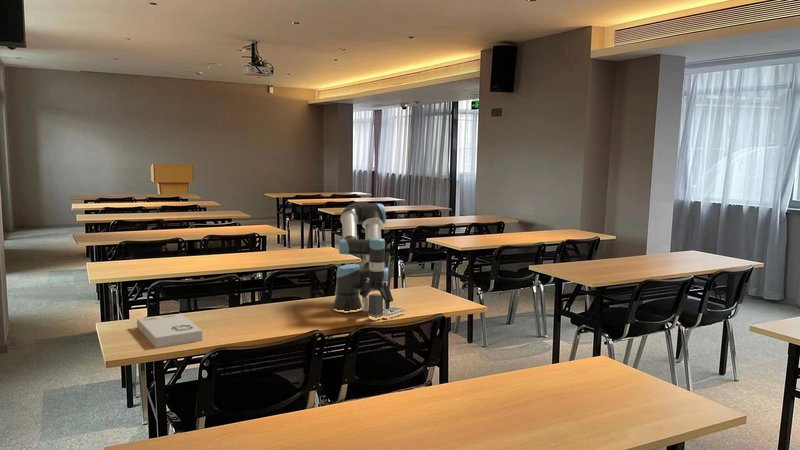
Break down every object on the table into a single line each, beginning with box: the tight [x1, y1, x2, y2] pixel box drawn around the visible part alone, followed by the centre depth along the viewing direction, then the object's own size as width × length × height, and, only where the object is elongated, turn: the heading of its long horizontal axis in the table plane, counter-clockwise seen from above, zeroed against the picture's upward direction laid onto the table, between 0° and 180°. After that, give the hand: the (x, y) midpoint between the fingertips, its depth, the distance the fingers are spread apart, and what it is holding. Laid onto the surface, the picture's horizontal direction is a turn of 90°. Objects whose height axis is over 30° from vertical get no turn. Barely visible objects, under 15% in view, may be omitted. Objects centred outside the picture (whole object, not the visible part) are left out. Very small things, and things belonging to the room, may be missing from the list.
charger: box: [367, 293, 384, 318], centre depth 284 cm, size 5×5×12 cm
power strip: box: [383, 305, 406, 316], centre depth 293 cm, size 9×14×3 cm, turn 140°
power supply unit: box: [136, 312, 204, 349], centre depth 253 cm, size 19×33×5 cm, turn 36°
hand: (375, 312), depth 285 cm, fingers open, 13 cm apart
